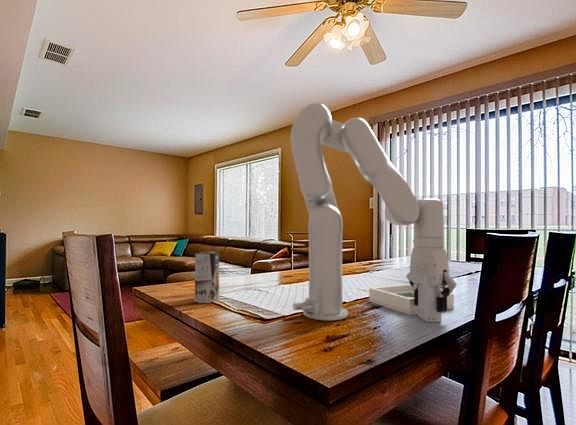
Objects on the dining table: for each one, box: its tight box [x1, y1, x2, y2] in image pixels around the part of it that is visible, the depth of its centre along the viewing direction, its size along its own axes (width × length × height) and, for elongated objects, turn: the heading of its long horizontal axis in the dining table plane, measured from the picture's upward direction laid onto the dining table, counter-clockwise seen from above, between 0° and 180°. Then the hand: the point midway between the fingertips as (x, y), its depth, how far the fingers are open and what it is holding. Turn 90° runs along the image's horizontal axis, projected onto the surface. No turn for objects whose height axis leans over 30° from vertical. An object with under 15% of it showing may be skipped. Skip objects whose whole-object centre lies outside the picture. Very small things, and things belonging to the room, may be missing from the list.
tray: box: [368, 283, 455, 316], centre depth 108 cm, size 18×18×4 cm
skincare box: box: [417, 277, 442, 323], centre depth 93 cm, size 6×4×12 cm
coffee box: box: [193, 251, 220, 304], centre depth 114 cm, size 9×6×16 cm
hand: (430, 307), depth 93 cm, fingers closed on skincare box, 7 cm apart
